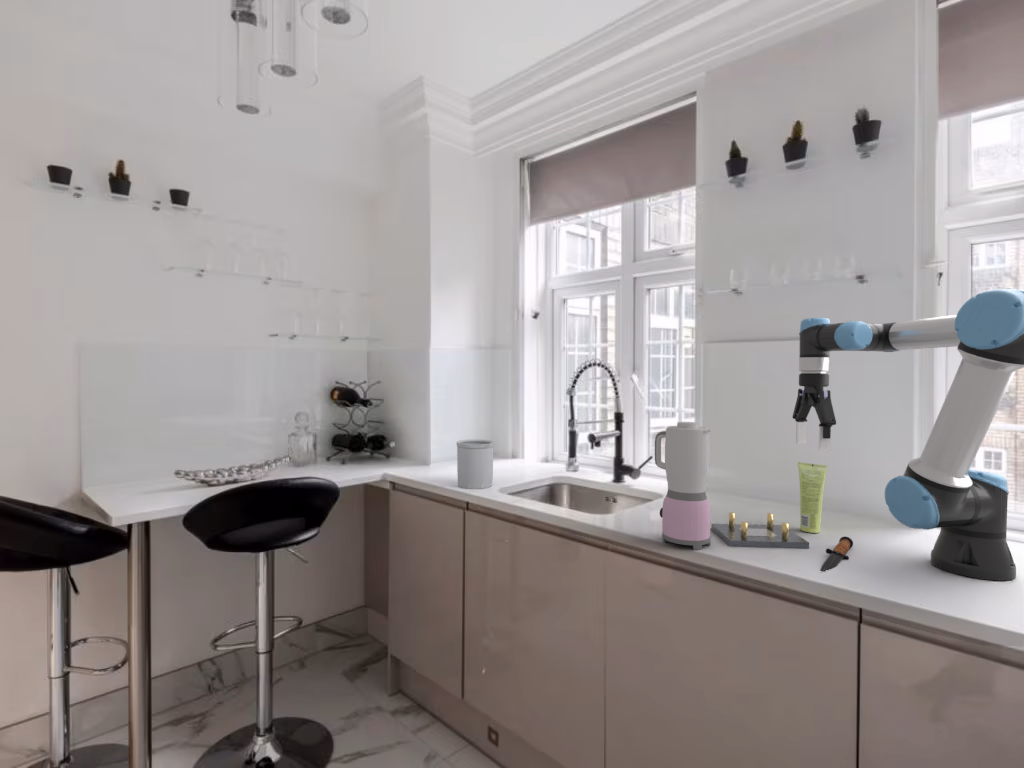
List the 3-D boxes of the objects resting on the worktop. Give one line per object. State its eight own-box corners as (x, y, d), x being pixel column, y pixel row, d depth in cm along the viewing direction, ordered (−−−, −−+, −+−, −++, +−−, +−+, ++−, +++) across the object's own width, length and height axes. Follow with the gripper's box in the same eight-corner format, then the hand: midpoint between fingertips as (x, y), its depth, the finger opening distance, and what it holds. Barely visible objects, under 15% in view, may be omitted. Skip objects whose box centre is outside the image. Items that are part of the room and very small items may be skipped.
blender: (719, 543, 144) (721, 422, 143) (697, 553, 135) (699, 425, 134) (665, 530, 155) (666, 418, 154) (642, 539, 146) (643, 421, 146)
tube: (815, 528, 158) (816, 462, 158) (826, 533, 153) (827, 464, 153) (796, 528, 158) (797, 461, 158) (806, 533, 153) (807, 464, 152)
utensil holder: (492, 489, 207) (493, 444, 207) (454, 489, 208) (454, 443, 207) (494, 482, 222) (495, 439, 222) (458, 481, 222) (458, 439, 222)
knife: (836, 573, 121) (811, 563, 124) (832, 585, 121) (808, 575, 124) (859, 540, 139) (837, 532, 142) (856, 551, 140) (834, 543, 143)
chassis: (809, 548, 140) (809, 527, 140) (729, 546, 141) (730, 525, 141) (782, 530, 156) (782, 511, 156) (711, 528, 157) (711, 509, 157)
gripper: (852, 372, 142) (850, 453, 142) (806, 372, 167) (805, 441, 167) (822, 372, 142) (820, 453, 143) (781, 372, 167) (780, 441, 168)
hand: (812, 447), depth 155 cm, fingers open, 13 cm apart
